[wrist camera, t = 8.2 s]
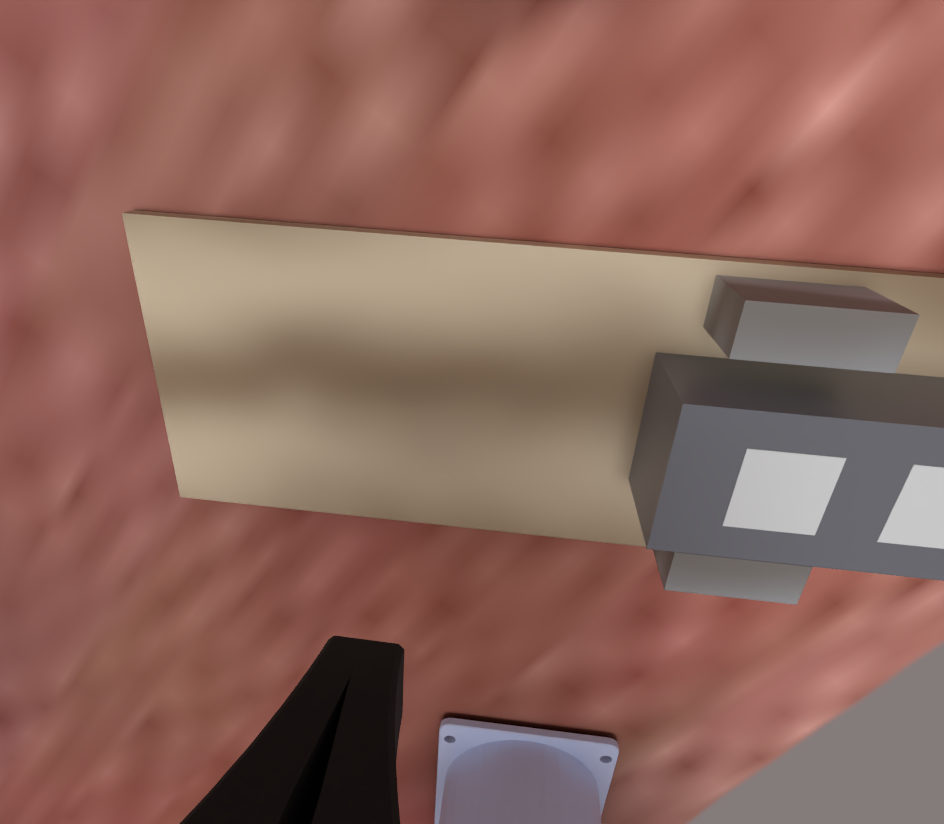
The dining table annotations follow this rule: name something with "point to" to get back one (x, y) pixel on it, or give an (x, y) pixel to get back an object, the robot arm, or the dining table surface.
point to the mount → (476, 368)
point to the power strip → (792, 465)
